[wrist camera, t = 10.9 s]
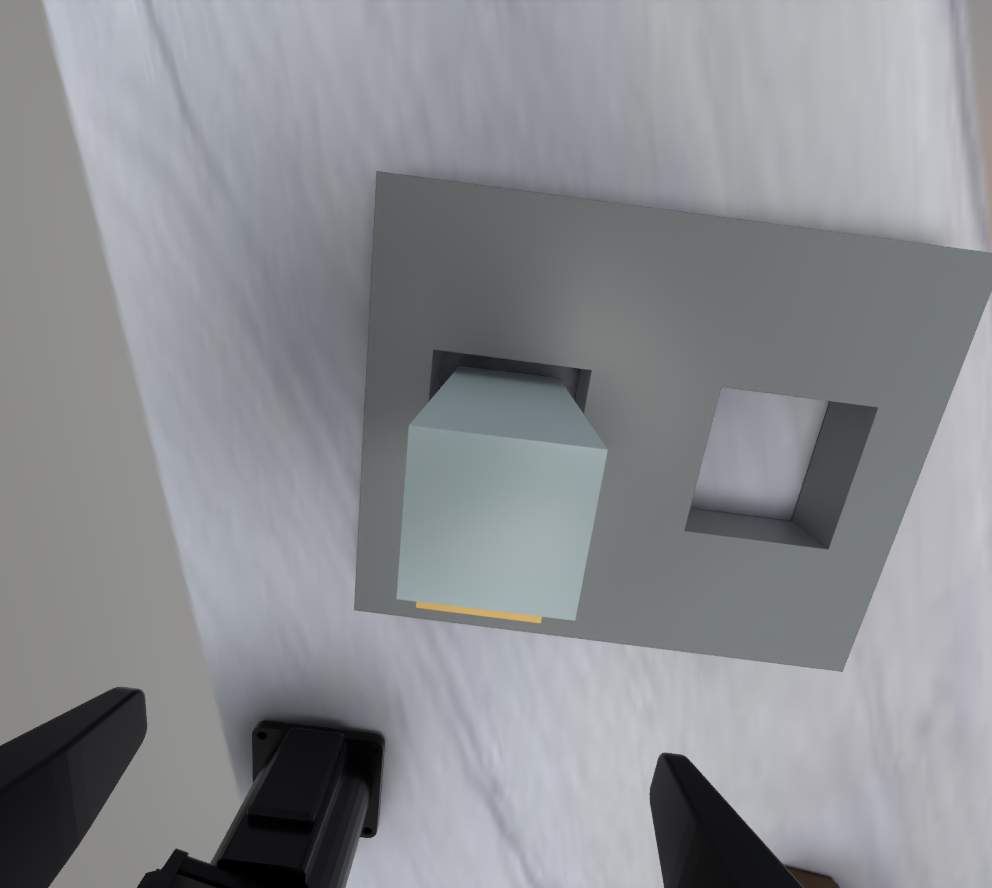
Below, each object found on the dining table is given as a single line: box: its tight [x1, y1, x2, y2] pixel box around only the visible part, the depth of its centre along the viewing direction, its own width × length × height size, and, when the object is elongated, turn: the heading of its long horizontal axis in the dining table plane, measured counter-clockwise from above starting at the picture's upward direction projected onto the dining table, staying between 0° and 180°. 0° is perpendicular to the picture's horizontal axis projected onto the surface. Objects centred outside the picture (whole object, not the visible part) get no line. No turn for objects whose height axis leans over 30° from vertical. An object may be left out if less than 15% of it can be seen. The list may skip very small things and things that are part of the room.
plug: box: [397, 366, 608, 621], centre depth 15 cm, size 4×4×10 cm
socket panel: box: [354, 171, 992, 672], centre depth 19 cm, size 16×20×3 cm
